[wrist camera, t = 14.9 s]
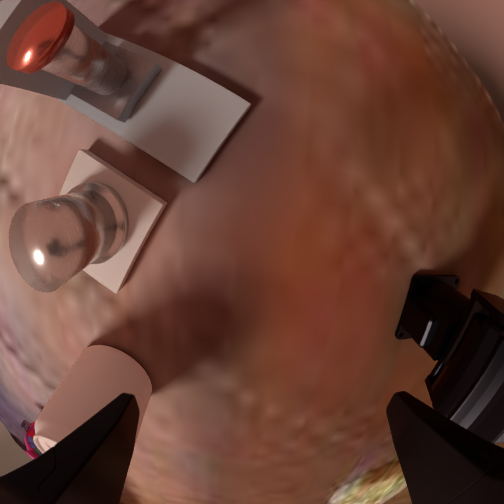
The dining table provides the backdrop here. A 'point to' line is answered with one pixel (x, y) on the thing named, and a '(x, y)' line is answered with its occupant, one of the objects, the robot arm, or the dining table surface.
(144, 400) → the beige cylinder
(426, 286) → the robot arm
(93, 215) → the knob
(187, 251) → the dining table surface
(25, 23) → the ball-topped lever
